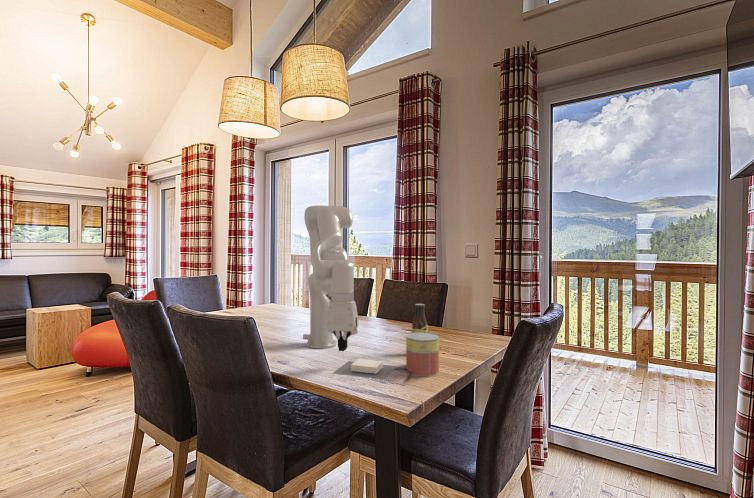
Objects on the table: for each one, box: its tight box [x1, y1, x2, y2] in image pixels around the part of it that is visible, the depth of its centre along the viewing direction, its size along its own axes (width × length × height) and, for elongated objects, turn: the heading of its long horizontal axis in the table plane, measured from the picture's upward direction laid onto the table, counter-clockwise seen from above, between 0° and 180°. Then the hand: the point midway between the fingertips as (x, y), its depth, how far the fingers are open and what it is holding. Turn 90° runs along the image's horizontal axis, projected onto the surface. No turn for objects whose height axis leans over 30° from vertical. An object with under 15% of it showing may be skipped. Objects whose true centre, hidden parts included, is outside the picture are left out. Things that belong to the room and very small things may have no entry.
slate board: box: [332, 360, 397, 381], centre depth 130 cm, size 18×14×1 cm
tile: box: [351, 358, 384, 374], centre depth 130 cm, size 2×7×9 cm
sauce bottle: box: [411, 303, 429, 333], centre depth 151 cm, size 7×6×20 cm
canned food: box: [405, 332, 440, 378], centre depth 132 cm, size 11×11×12 cm
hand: (342, 350), depth 133 cm, fingers closed
